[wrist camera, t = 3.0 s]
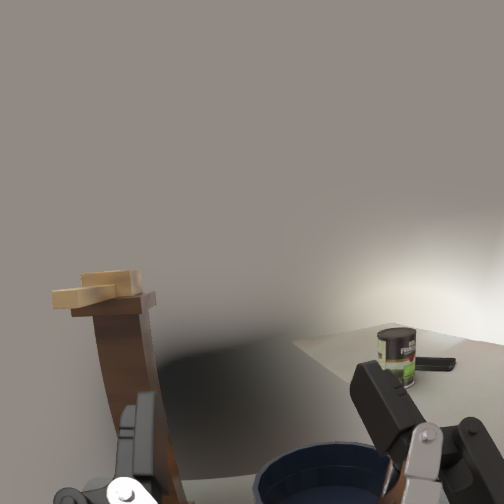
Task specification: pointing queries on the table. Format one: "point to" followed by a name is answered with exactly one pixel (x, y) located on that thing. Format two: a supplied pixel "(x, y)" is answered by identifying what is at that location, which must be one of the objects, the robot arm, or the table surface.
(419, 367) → the phone
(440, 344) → the table surface
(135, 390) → the stand
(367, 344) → the table surface
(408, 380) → the coffee can
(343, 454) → the pot
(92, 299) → the t-shaped wooden block
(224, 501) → the table surface
